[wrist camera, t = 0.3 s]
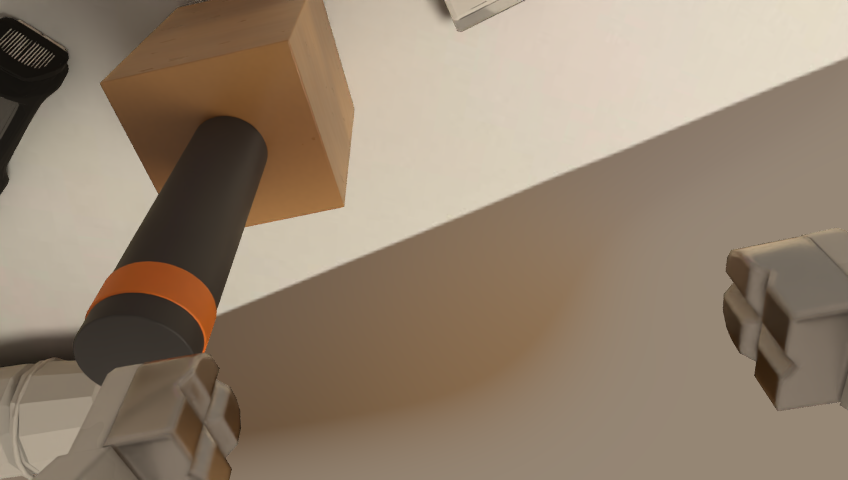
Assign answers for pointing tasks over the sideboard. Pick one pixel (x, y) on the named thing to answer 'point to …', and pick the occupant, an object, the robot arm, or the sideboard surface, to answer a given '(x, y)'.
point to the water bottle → (41, 413)
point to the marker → (177, 255)
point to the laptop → (475, 11)
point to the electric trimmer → (24, 81)
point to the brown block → (244, 96)
